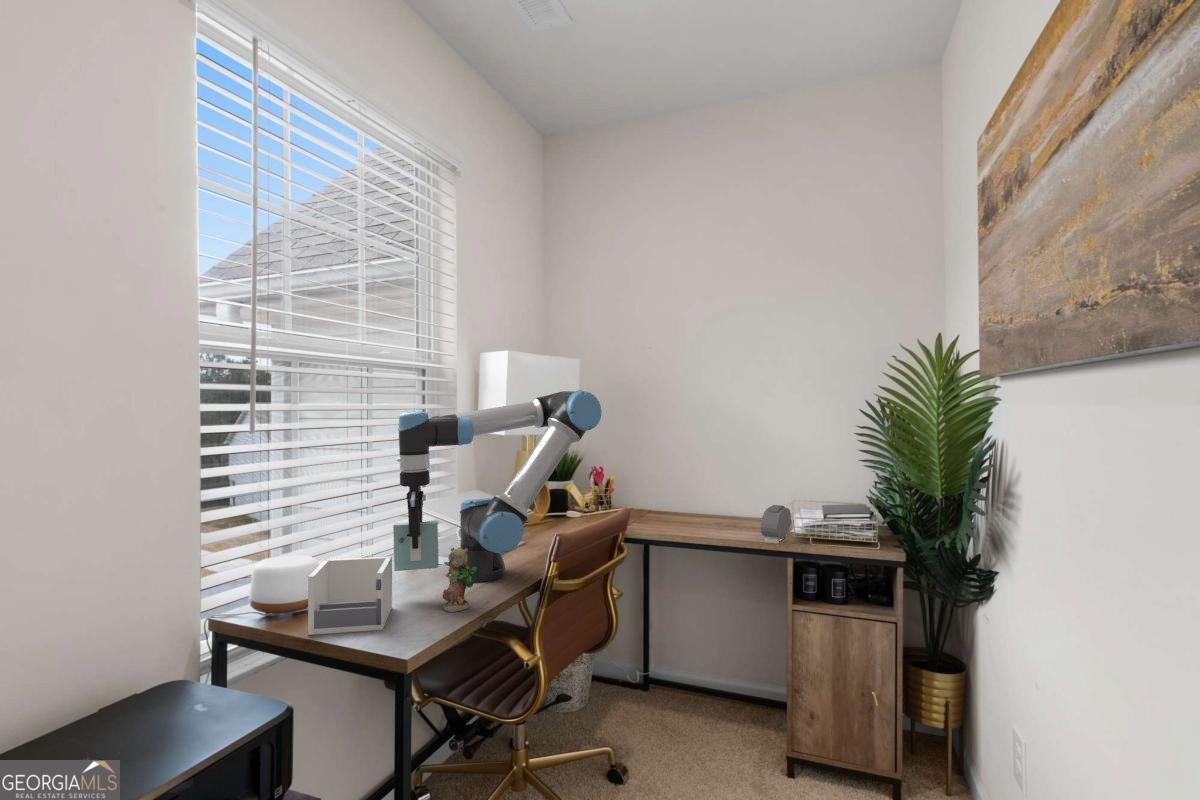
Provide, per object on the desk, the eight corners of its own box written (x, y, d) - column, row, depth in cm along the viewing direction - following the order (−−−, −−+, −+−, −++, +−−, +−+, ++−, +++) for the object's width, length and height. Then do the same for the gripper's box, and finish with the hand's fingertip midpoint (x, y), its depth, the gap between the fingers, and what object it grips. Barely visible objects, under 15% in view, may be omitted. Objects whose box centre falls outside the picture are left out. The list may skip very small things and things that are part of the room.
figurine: (435, 609, 151) (435, 550, 151) (456, 600, 158) (456, 544, 158) (463, 615, 147) (463, 555, 146) (483, 606, 153) (483, 548, 153)
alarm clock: (775, 532, 239) (775, 500, 239) (791, 534, 236) (791, 501, 236) (760, 544, 219) (760, 509, 219) (777, 546, 216) (777, 511, 216)
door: (438, 565, 160) (437, 520, 160) (437, 569, 157) (436, 523, 157) (395, 568, 158) (394, 523, 158) (393, 572, 155) (392, 526, 154)
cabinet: (391, 607, 152) (392, 556, 152) (382, 630, 137) (382, 573, 137) (324, 612, 149) (324, 559, 149) (307, 635, 134) (307, 576, 134)
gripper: (403, 467, 164) (405, 551, 165) (395, 474, 149) (397, 568, 149) (431, 466, 166) (433, 549, 166) (426, 473, 151) (428, 565, 151)
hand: (416, 558), depth 158 cm, fingers closed on door, 2 cm apart
